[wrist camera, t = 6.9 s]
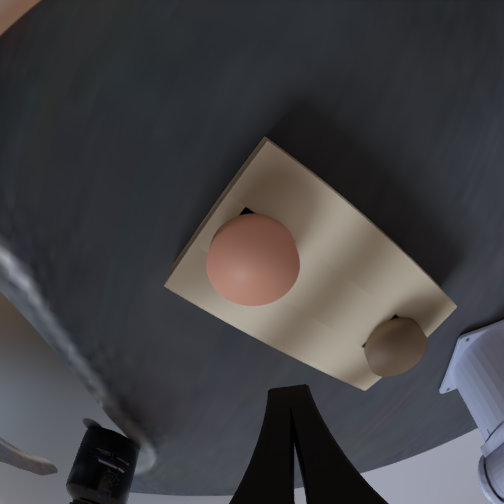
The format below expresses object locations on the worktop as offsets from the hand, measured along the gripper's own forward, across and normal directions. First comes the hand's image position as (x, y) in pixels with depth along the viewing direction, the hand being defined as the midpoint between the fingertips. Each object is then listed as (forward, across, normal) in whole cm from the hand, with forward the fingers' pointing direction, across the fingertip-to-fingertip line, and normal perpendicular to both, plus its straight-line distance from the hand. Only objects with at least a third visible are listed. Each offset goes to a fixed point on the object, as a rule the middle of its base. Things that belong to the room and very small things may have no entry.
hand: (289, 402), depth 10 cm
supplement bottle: (+10, +21, +20) cm, 30 cm away
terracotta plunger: (+8, +1, -3) cm, 9 cm away
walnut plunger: (+9, -7, +5) cm, 12 cm away
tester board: (+9, -3, +1) cm, 10 cm away
